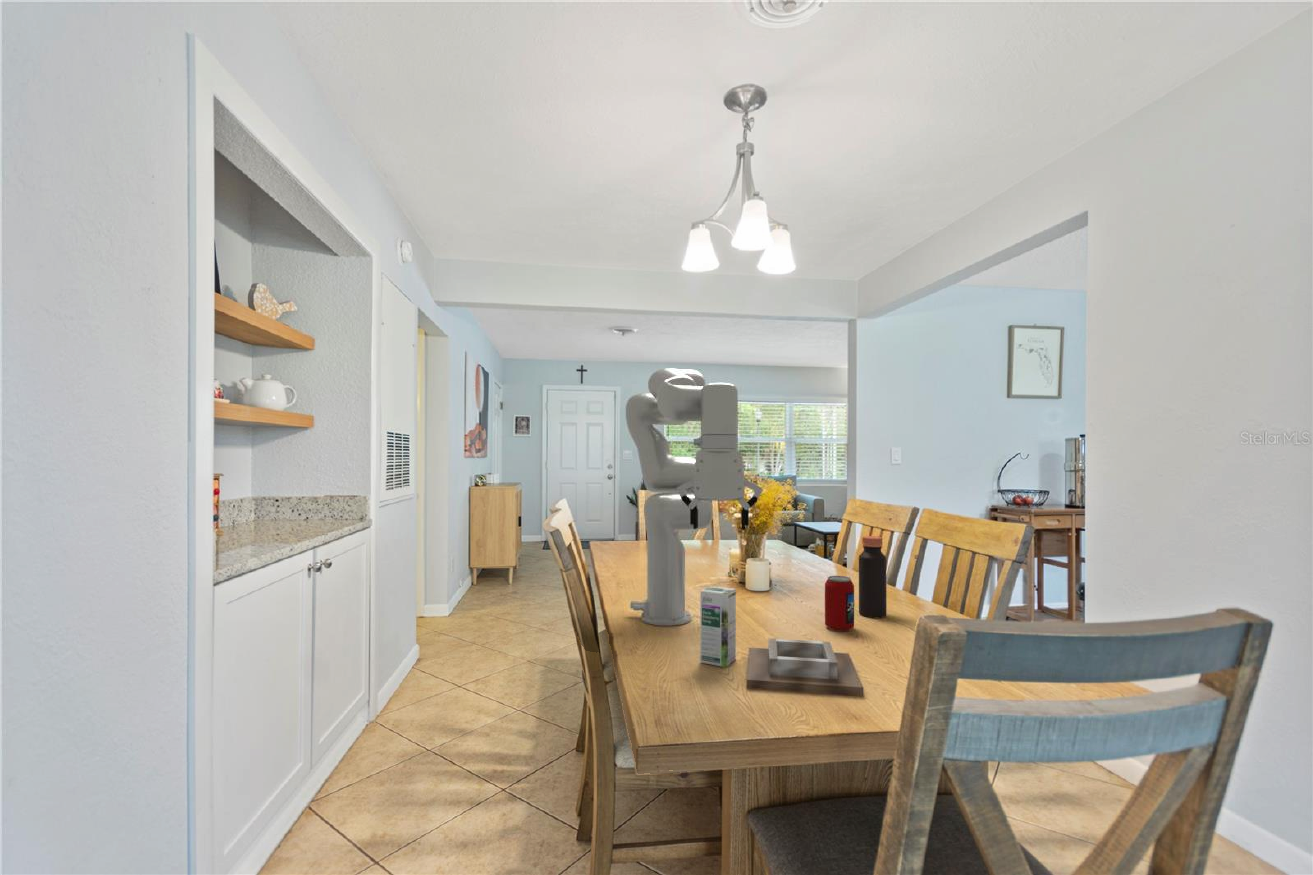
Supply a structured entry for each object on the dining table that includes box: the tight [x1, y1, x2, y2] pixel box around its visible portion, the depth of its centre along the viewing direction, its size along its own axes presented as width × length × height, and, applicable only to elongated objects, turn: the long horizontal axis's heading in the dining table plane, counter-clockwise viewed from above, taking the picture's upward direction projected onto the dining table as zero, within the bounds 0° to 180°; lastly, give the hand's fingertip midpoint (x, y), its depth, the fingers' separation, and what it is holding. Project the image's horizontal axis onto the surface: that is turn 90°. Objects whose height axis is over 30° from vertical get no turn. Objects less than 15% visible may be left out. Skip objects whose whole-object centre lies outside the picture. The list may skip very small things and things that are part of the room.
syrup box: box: [699, 585, 737, 668], centre depth 123 cm, size 6×6×14 cm
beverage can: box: [824, 575, 855, 632], centre depth 146 cm, size 7×7×12 cm
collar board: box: [746, 638, 864, 697], centre depth 116 cm, size 20×18×4 cm
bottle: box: [858, 535, 888, 619], centre depth 158 cm, size 7×7×20 cm
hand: (719, 528), depth 123 cm, fingers open, 9 cm apart
